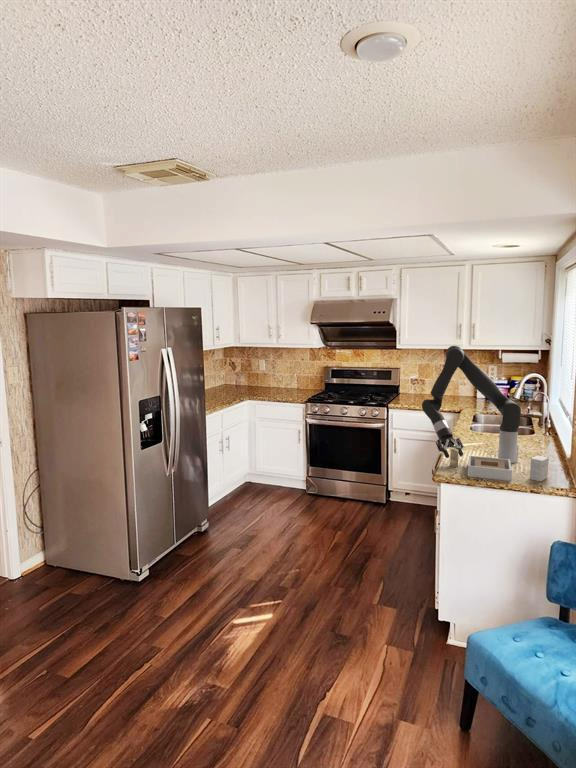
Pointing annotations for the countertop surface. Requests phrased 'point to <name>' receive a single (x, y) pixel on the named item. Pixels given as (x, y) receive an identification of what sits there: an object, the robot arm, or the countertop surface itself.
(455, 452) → the peg
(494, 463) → the bin
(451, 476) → the countertop surface
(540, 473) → the small box
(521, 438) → the countertop surface
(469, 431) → the countertop surface
